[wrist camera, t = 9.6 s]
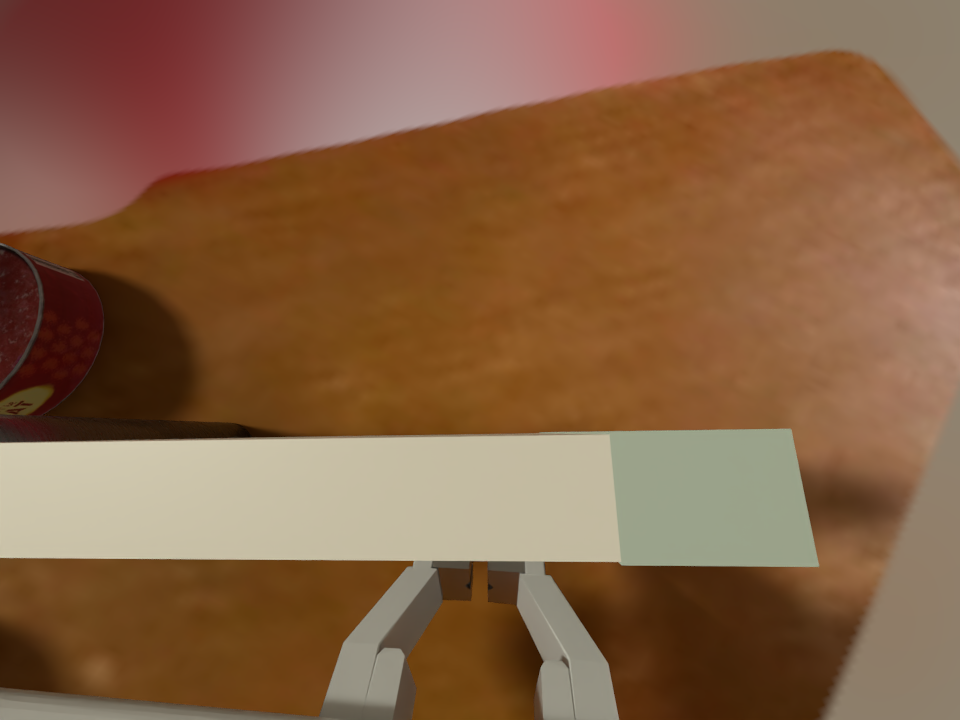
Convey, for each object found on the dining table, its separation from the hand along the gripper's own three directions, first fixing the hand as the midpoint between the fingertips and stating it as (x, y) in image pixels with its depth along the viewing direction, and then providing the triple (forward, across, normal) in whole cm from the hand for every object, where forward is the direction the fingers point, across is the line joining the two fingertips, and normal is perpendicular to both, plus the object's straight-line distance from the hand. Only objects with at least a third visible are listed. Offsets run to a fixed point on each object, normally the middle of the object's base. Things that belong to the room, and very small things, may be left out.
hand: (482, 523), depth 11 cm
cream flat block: (+5, +3, +3) cm, 7 cm away
